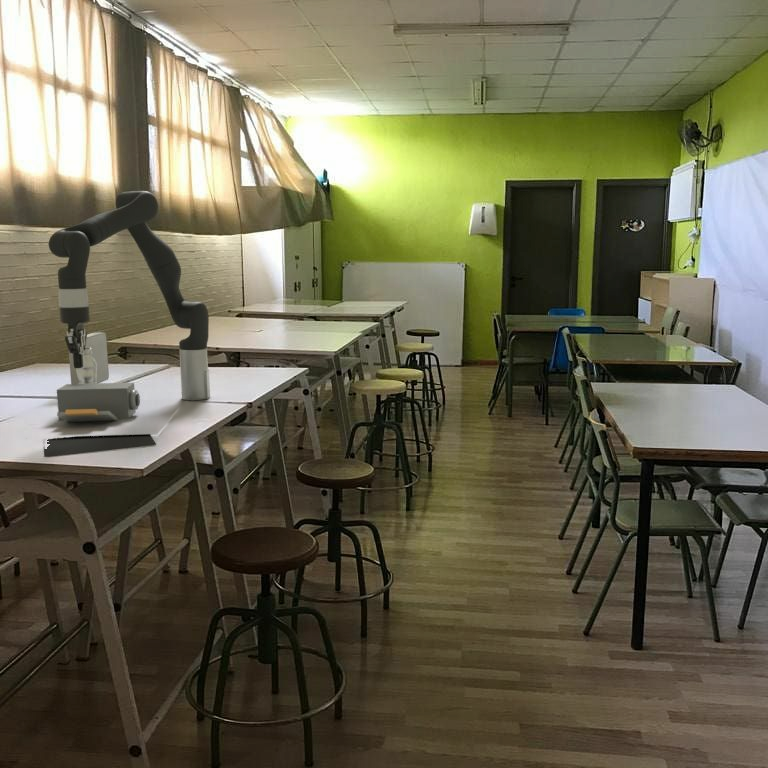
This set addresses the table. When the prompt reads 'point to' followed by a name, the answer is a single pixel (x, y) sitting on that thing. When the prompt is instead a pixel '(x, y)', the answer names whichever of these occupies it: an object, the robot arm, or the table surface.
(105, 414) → the side door
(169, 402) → the table surface
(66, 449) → the tablet
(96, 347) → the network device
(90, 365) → the plastic bottle
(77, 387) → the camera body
